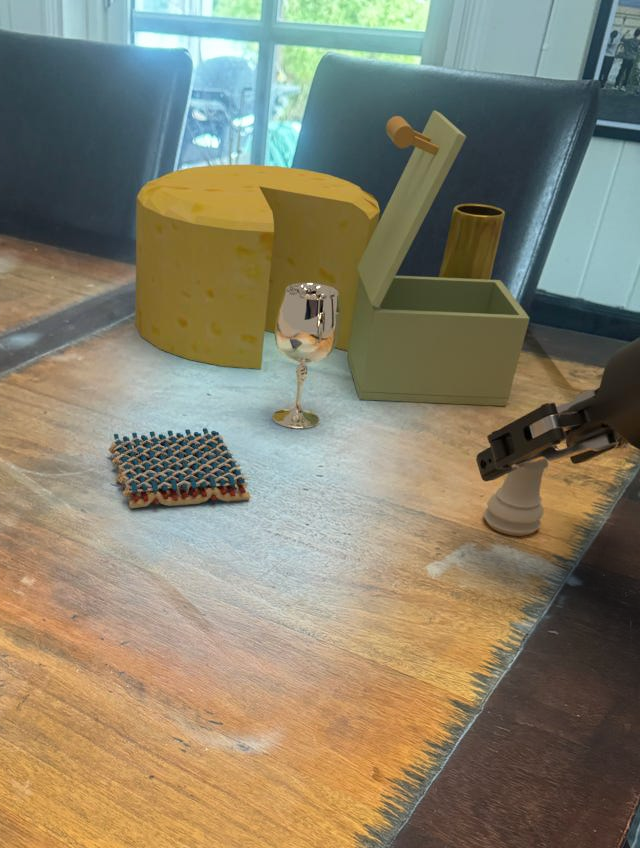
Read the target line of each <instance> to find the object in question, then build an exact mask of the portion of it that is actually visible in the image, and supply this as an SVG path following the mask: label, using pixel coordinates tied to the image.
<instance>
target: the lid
mask: <svg viewBox="0 0 640 848" xmlns="http://www.w3.org/2000/svg"><path fill="white" fill-rule="evenodd" d="M385 132H386V134H387V136H388V137H389V138H390V140H391V141H392V142H393V143H394V145H395V146H396V147H397V148H399V149H407V148H409V147H410V146H413V147H414V149H413V151H412V153H411V155H410V157H409V159H408V162H407V163H406V165H405V168H404V169H403V172H402V174H401V176H400V178H399V180H398V182H397V184H396V187H395V188H394V190H393V193H392V194H391V197H390V198H389V201H388V202H387V205H386V207H385V208H384V211H383V213H382V215H381V217H380V218H379V220H378V225H377V227H376V229H375V231H374V234H373V236H372V238H371V240H370V242H369V244H368V246H367V248H366V250H365V252H364V254H363V256H362V258H361V260H360V262H359V264H358V266H357V269H358V272H359V274H360V277H361V279H362V282H363V284H364V287H365V289H366V292H367V294H368V297H369V300H370V302H371V305H373V306H376V307H379V306H380V304H381V302H382V300H383V298H384V296H385V294H386V293H387V291H388V289H389V287H390V285H391V283H392V281H393V279H394V277H395V276H397V273H398V271H399V269H400V267H401V265H402V263H403V261H404V259H405V257H406V255H407V253H408V252H409V250H410V248H411V246H412V244H413V242H414V240H415V238H416V237H417V234H418V233H419V231H420V229H421V226H422V225H423V223H424V220H425V218H426V217H427V215H428V213H429V210H430V209H431V207H432V205H433V203H434V201H435V199H436V197H437V195H438V193H439V191H440V189H441V187H442V185H443V183H444V182H445V179H446V178H447V176H448V173H449V172H450V170H451V168H452V166H453V164H454V163H455V160H456V158H457V157H458V154H459V152H460V151H461V149H462V146H463V144H464V143H465V140H466V138H467V135H465V134H464V133H463V132H462V130H460V129H459V128H458V127H457V126H456V125H454V124H453V123H452V122H451V121H450V120H449V119H448V118H446V117H445V116H444V115H443V114H442V113H441V112H438V111H437V110H435V109H434V110H432V112H431V114H430V116H429V119H428V121H427V122H426V125H425V127H424V128H423V130H422V133H421V132H419V131H417V130H414V128H413V127H412V126H411V125H410V124H409V123H408V122H407V121H406V119H404V117H402V116H400V115H394V116H392V117H390V118H389V119H388V121H387V122H386V125H385Z"/></svg>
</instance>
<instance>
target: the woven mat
mask: <svg viewBox="0 0 640 848" xmlns="http://www.w3.org/2000/svg"><path fill="white" fill-rule="evenodd" d="M184 432H185V435H186V436H185V435H184V434H183V433H181V432H176V434H175V435H174V434H173V430H167V435H168V437H166V435H165V434H163V433H159V434H158V437H157V436H156V432H155V431H149V436H150V438H148V435H147V436H146V435H145V434H141V436H140V438H139V437H138V433H137V432H131V436H132V439H131V440H130V437H129V436H127V435H125V436H124V435H123V437H122V439H120V436H119V434H118V433H113V438H114V441H113V442H111V445H110V446H109V448H107V451H108V452H109V453H110V454H112V455H116V456H114V457H113V459H112V460H111V462H112V463H113V465H114V466H115V467H116V468H118V469H117V470H118V473H117V474H116V476H115V479H116V483H119V484H121V485H122V486H125V487H124V490H123V491H122V494H123V495H124V496H125V498H126V499H128V500H129V501H128V504H129V505H128V506H129V509H138V508H145V507H148V506H149V505H150V504H151V503H152V504H159V503H160V504H161V505H164V506H169V507H171V506H173V507H174V506H185V505H186V506H187V505H198V504H201V503H204V502H207V501H208V500H211V501H213V500H220V501H223V502H239V501H240V502H241V501H249V500H250V499H251V495H250V494H251V493H250V491H246V489H247V488H248V486H249V483H248V482H245V481H249V477H247V476H245V475H244V473H242V470H243V468H239V467H241V464H240V463H237V461H238V460H236V459H235V457H234V453H233V452H231V450H230V449H229V448H228V445H227V444H226V442H225V440H224V437H223V436H222V434H220V433H219V431H216V430H211V432H210V433H209V429H208V428H207V427H204V428H202V432H198V431H194V432H193V434H192V432H191V430H190V429H189V428H188V429H184ZM202 433H203V435H202ZM236 463H237V464H236ZM236 491H237V492H236Z"/></svg>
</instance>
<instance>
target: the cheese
mask: <svg viewBox="0 0 640 848" xmlns="http://www.w3.org/2000/svg"><path fill="white" fill-rule="evenodd" d="M380 214H381V210H380V206H379V202H378V201H377V199H376V198H375V196H374V195H373V194H370V193H369V192H367V191H365V190H363V189H362V188H361V187H360V186H359V185H357V184H355V183H352V182H351V181H348V180H345V179H342V178H340V177H337V176H333V175H331V174H327V173H323V172H317V171H313V170H309V169H303V168H294V167H285V166H278V165H263V164H262V165H261V164H216V165H215V164H214V165H213V164H212V165H205V166H204V165H203V166H194V167H193V166H192V167H189V168H184V169H179V170H174V171H172V172H169V173H167V174H163V175H162V176H161V177H158V178H155V179H153V180H150V181H147V182H146V183H145V184H144V185H143V186H142V187H141V188H140V190H139V192H138V194H137V195H136V223H135V225H136V226H135V227H136V230H135V232H136V233H135V234H136V235H135V243H136V244H135V304H134V305H135V306H134V307H135V310H134V314H135V315H134V316H135V317H134V324H135V327H136V329H137V330H138V333H139V335H140V336H141V338H142V339H144V340H146V341H147V342H149V343H150V344H151V345H152V346H154V347H156V348H157V349H159V350H161V351H164V352H167V353H170V354H172V355H174V356H178V357H180V358H183V359H186V360H190V361H194V362H195V361H196V362H199V363H204V364H210V365H214V366H219V367H228V368H243V369H255V370H261V369H262V362H263V361H262V360H263V351H264V342H265V341H264V340H265V332H270V333H273V334H275V323H276V318H277V314H278V310H279V306H280V303H281V300H282V298H283V295H284V292H285V289H286V287H288V286H290V285H292V284H297V283H316V284H322V285H326V286H330V287H332V288H334V289H336V290H337V291H338V294H339V305H340V330H339V336H338V340H337V343H336V346H335V348H334V349H338V350H343V351H346V352H348V345H349V339H350V332H351V326H352V319H353V313H354V306H355V300H356V293H357V287H358V280H359V272H358V269H357V266H358V264H359V262H360V260H361V258H362V256H363V254H364V252H365V250H366V248H367V246H368V244H369V242H370V240H371V238H372V236H373V234H374V231H375V229H376V227H377V225H378V223H379V221H380Z"/></svg>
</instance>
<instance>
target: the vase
mask: <svg viewBox="0 0 640 848" xmlns="http://www.w3.org/2000/svg"><path fill="white" fill-rule="evenodd" d="M505 215H506V212H505V210H504V209H502V208H500V207H496V206H493V205H488V204H482V203H461V204H457V205H456V206H454V208H453V210H452V215H451V221H450V226H449V230H448V234H447V239H446V244H445V250H444V254H443V258H442V262H441V266H440V270H439V274H438V277H440V278H463V279H487V280H491V277H492V274H493V269H494V265H495V261H496V260H495V259H496V256H497V251H498V246H499V243H500V238H501V234H502V228H503V224H504V219H505Z"/></svg>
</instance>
